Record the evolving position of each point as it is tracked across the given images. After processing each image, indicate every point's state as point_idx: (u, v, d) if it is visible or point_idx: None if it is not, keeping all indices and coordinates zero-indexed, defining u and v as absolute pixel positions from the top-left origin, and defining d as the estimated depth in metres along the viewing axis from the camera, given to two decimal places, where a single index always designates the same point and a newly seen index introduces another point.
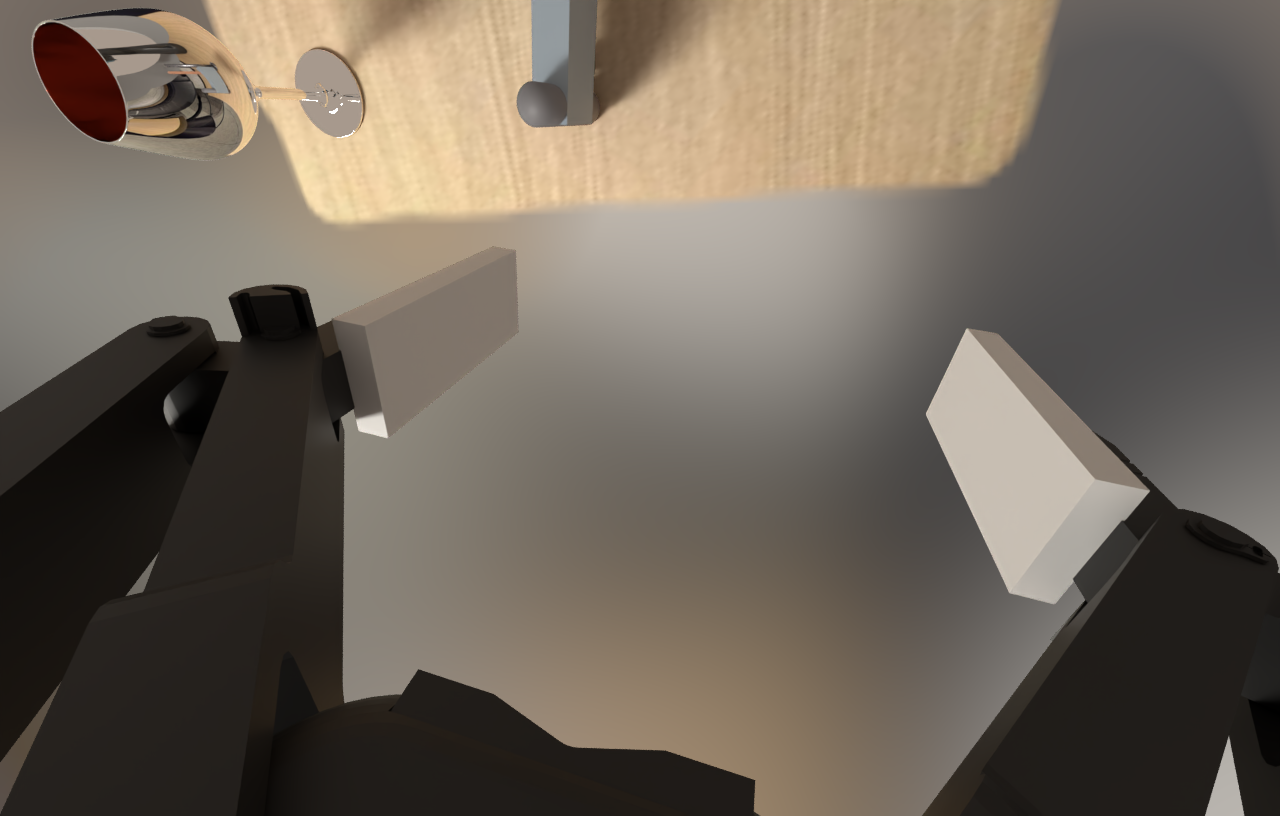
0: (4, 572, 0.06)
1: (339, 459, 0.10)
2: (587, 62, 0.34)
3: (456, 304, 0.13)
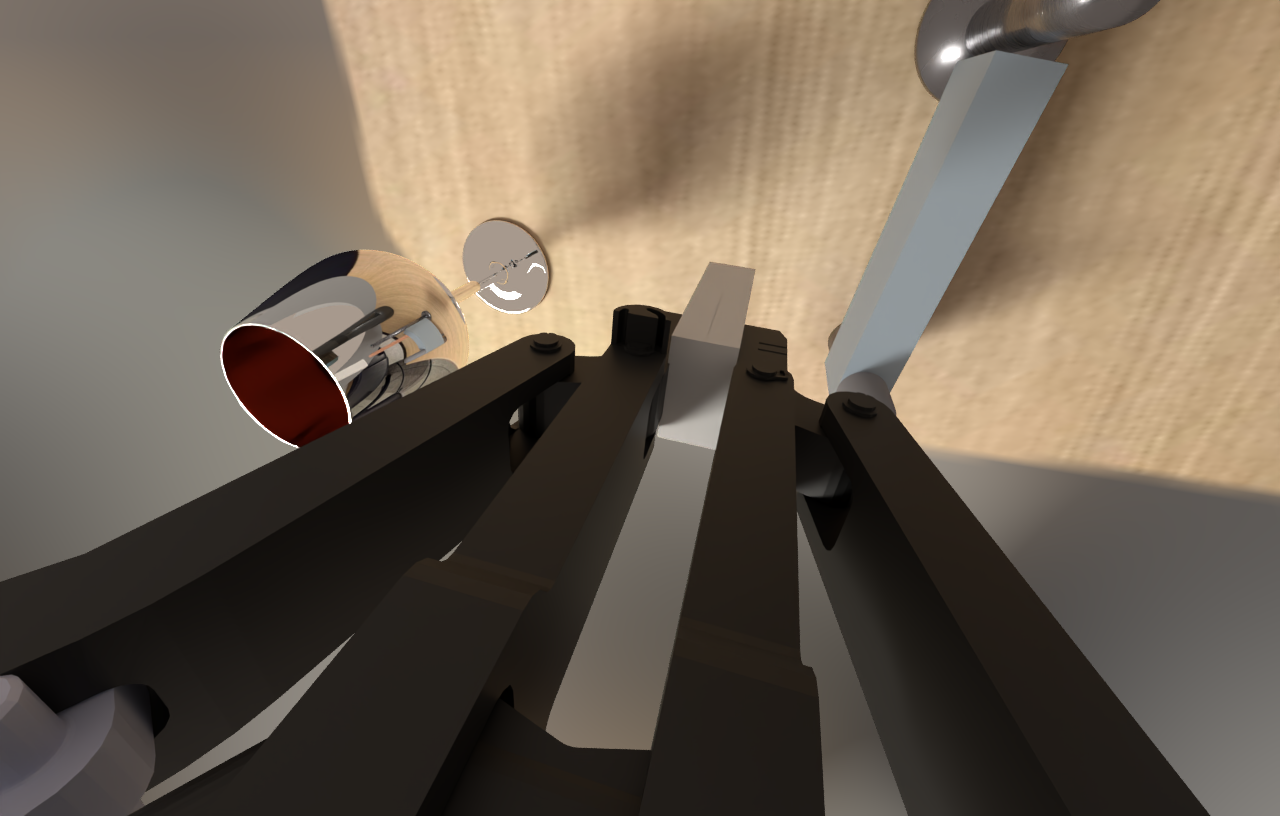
0: (345, 539, 0.06)
1: (638, 475, 0.10)
2: None
3: None
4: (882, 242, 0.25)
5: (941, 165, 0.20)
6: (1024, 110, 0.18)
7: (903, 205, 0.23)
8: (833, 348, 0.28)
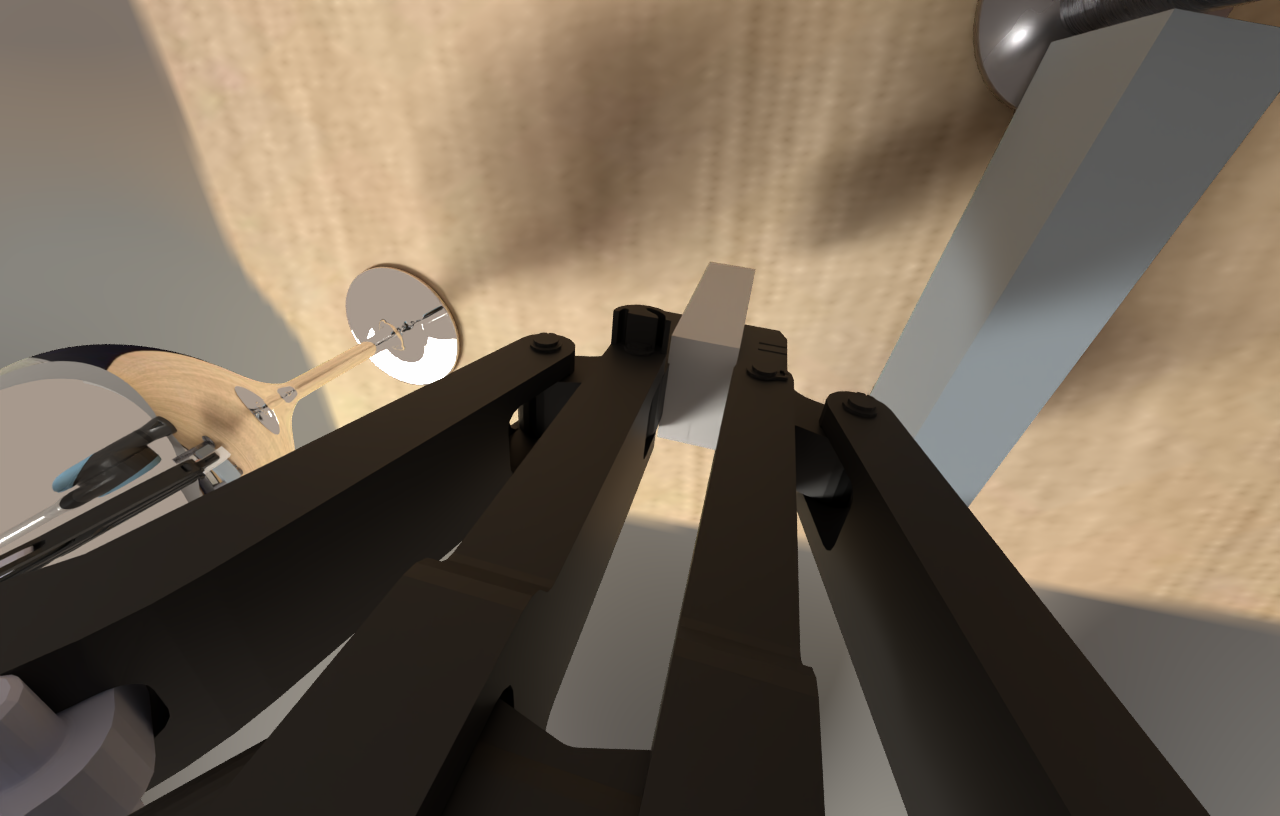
0: (345, 539, 0.06)
1: (638, 475, 0.10)
2: None
3: None
4: (920, 320, 0.16)
5: (1044, 219, 0.11)
6: (1216, 124, 0.10)
7: (958, 270, 0.15)
8: None
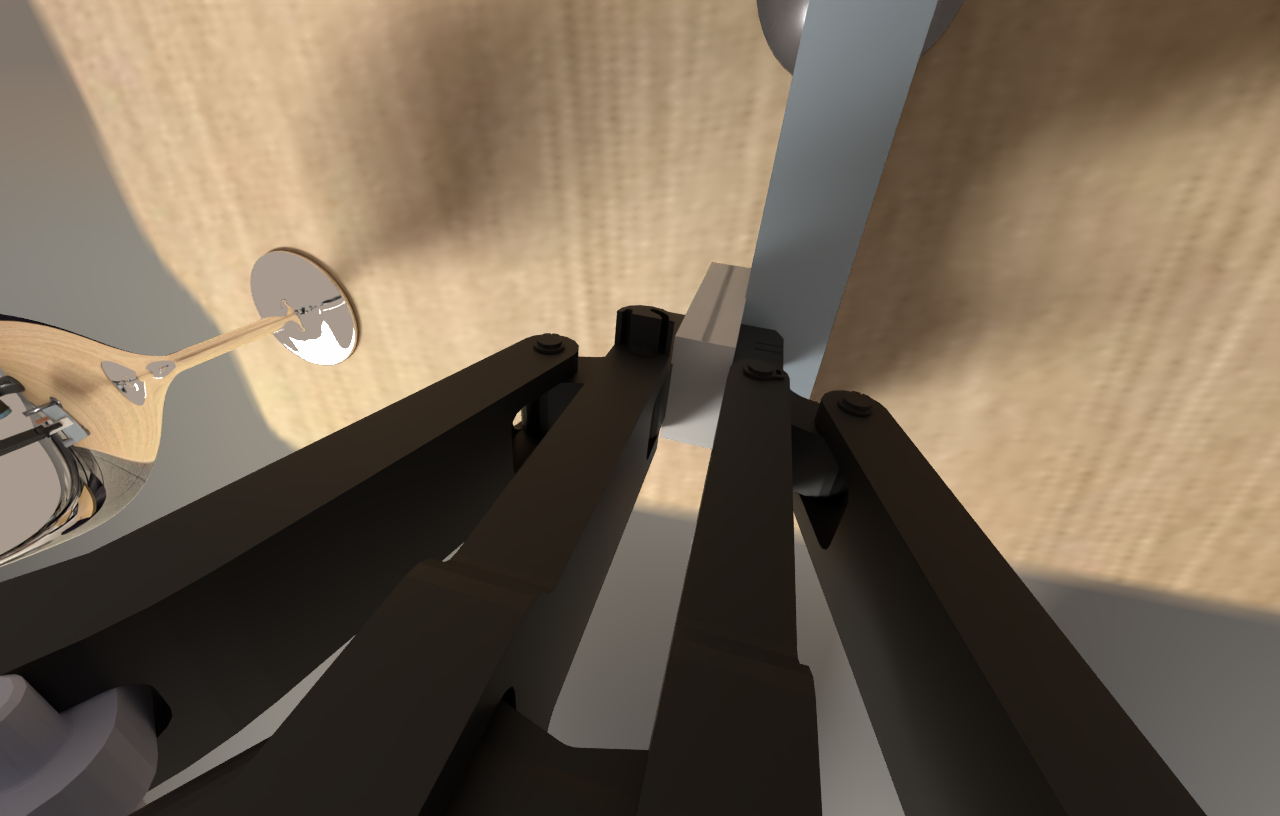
0: (347, 540, 0.06)
1: (641, 476, 0.10)
2: None
3: None
4: None
5: None
6: (881, 80, 0.10)
7: None
8: None
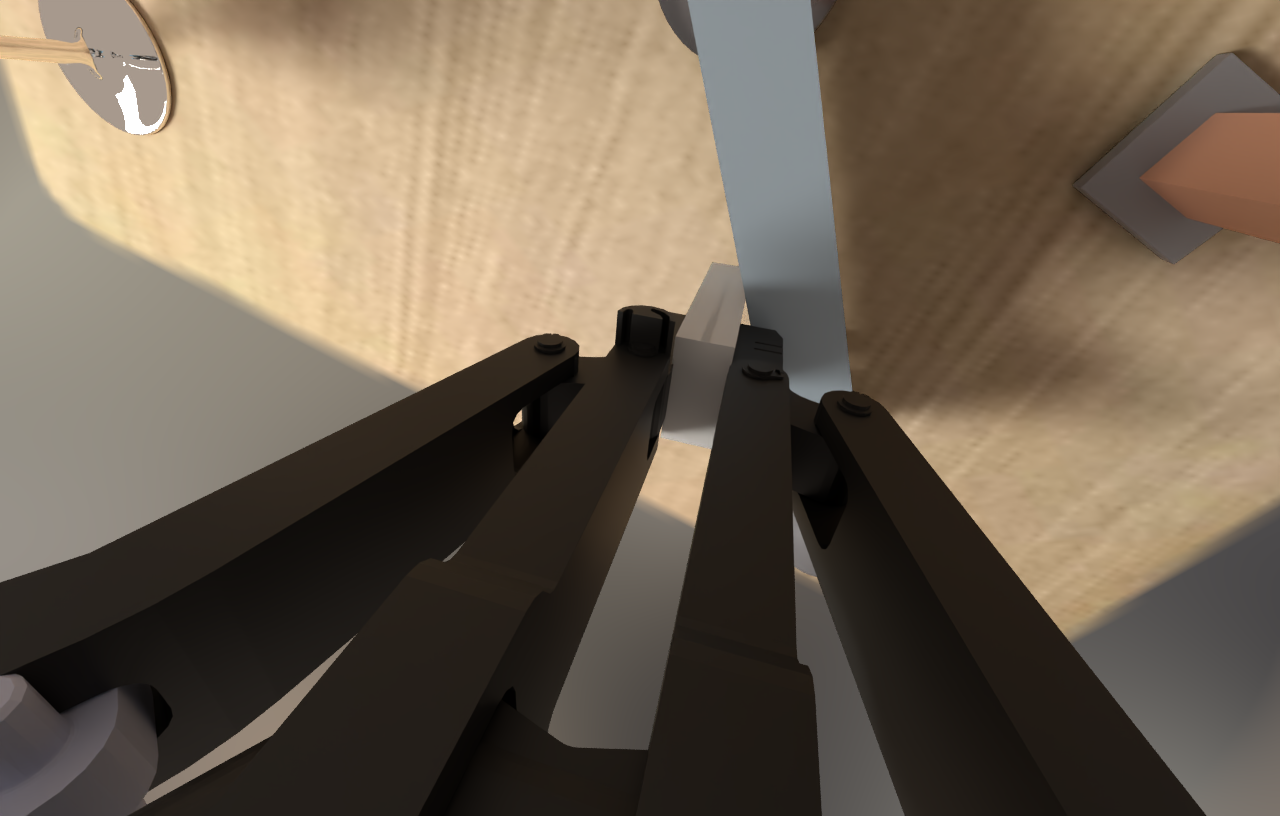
0: (348, 540, 0.06)
1: (642, 476, 0.10)
2: None
3: None
4: None
5: (720, 164, 0.12)
6: (782, 26, 0.10)
7: None
8: None
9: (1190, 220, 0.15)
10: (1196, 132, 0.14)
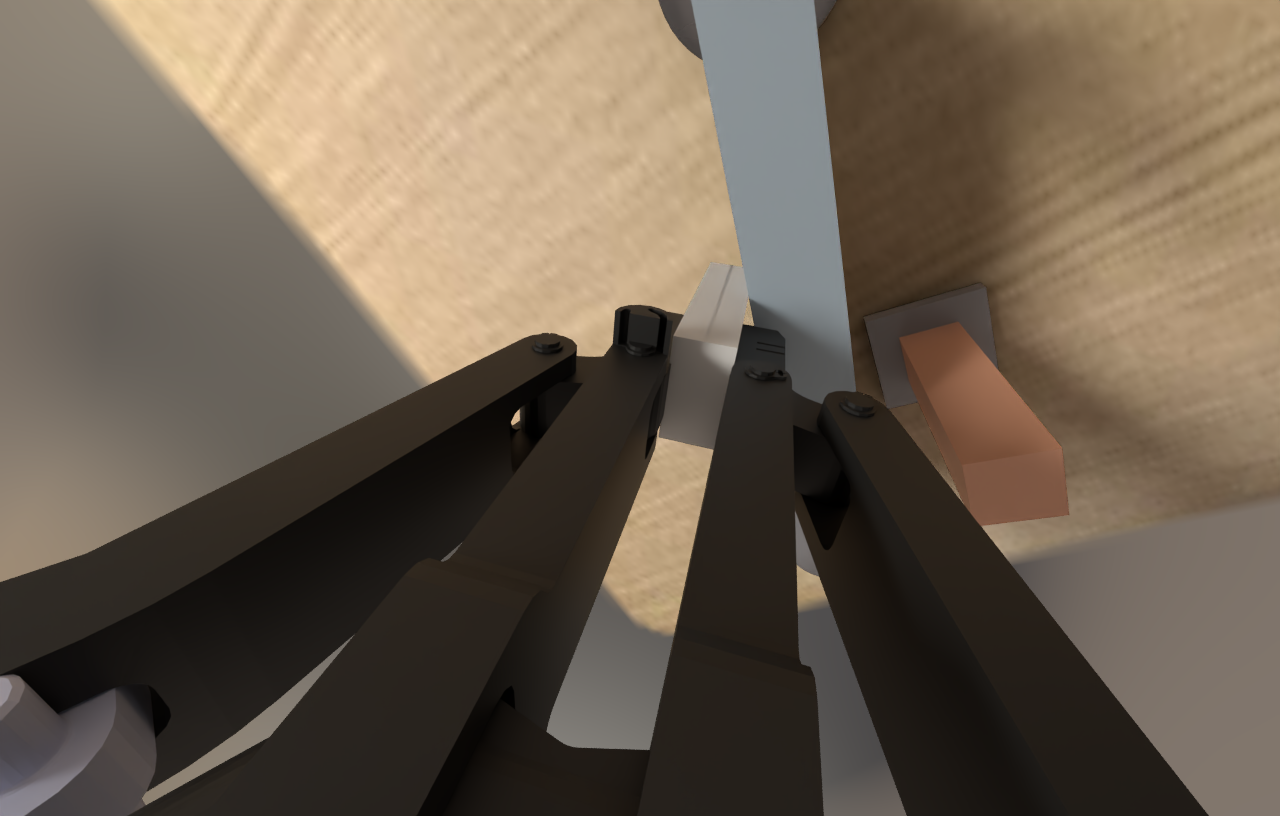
0: (346, 539, 0.06)
1: (640, 476, 0.10)
2: None
3: None
4: None
5: (723, 164, 0.12)
6: (785, 25, 0.10)
7: None
8: None
9: (910, 385, 0.20)
10: (942, 327, 0.19)
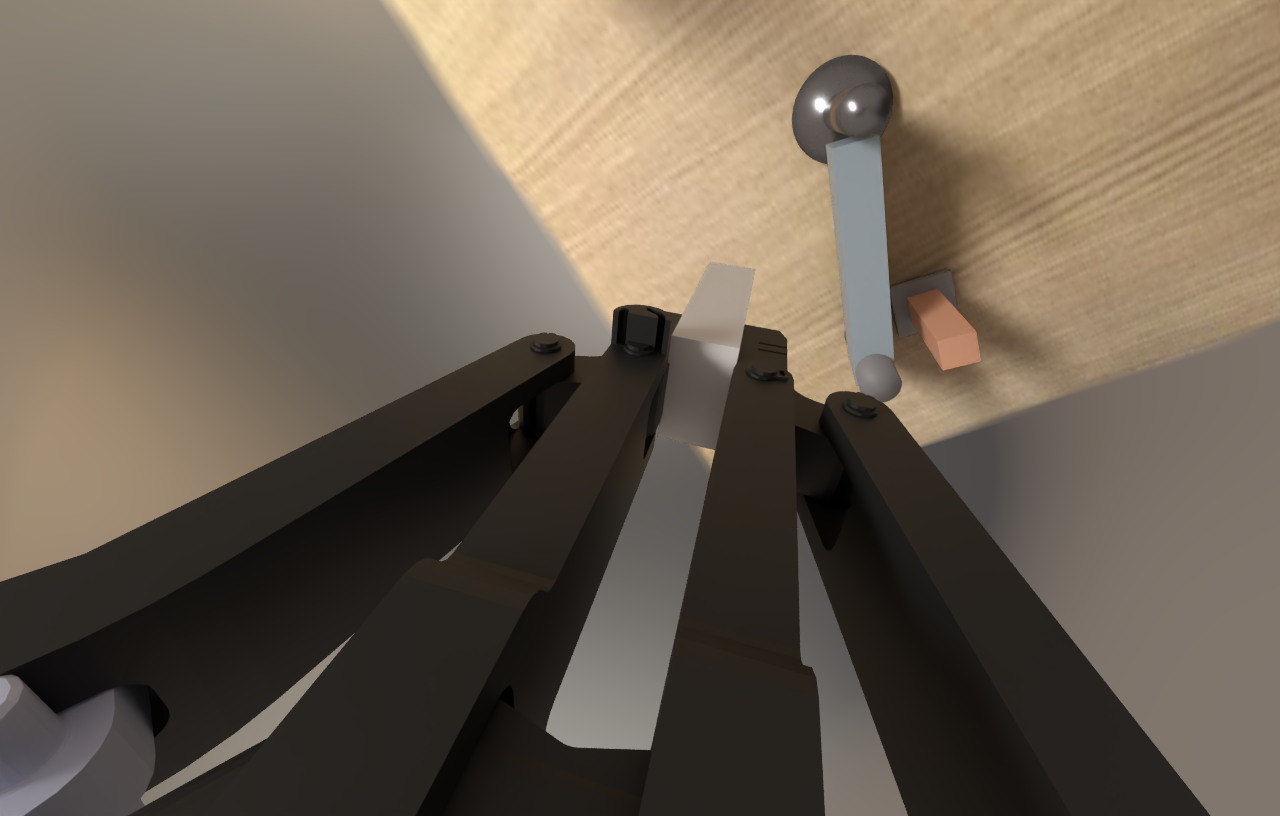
0: (345, 539, 0.06)
1: (638, 475, 0.10)
2: None
3: None
4: (839, 265, 0.34)
5: (839, 217, 0.29)
6: (870, 167, 0.28)
7: (838, 240, 0.33)
8: (847, 345, 0.37)
9: (912, 324, 0.37)
10: (929, 292, 0.36)
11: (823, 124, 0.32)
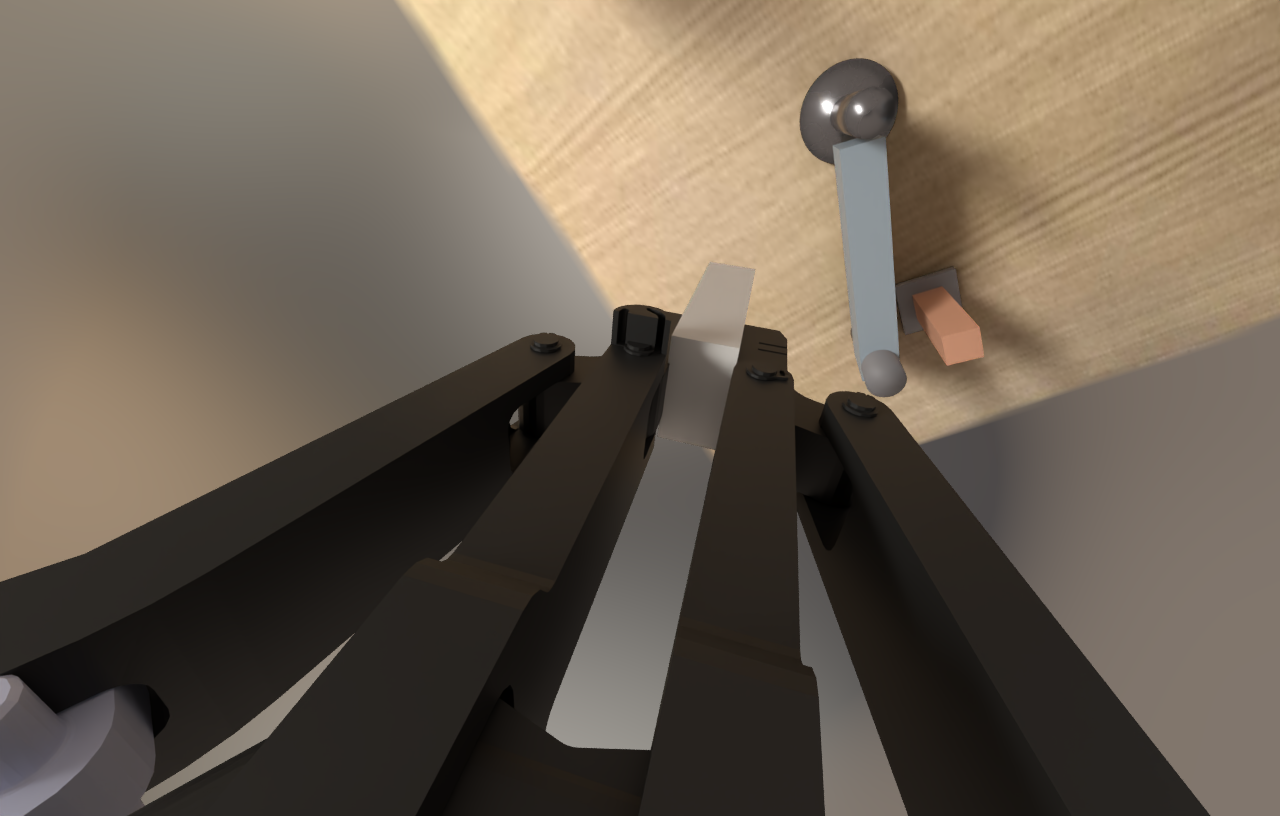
0: (345, 539, 0.06)
1: (638, 475, 0.10)
2: None
3: None
4: (846, 263, 0.35)
5: (846, 216, 0.30)
6: (876, 168, 0.28)
7: (844, 238, 0.33)
8: (853, 341, 0.38)
9: (917, 320, 0.38)
10: (934, 289, 0.37)
11: (830, 125, 0.33)
